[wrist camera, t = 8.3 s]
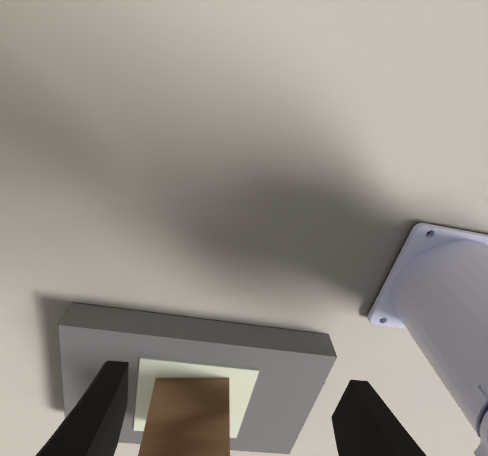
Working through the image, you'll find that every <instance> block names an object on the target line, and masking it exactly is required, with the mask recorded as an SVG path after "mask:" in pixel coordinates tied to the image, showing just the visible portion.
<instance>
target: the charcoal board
mask: <svg viewBox="0 0 488 456" xmlns="http://www.w3.org/2000/svg"><path fill="white" fill-rule="evenodd" d="M58 330H59V343H60V357H61V371H62V385H63V398H64V412H65V418H66V417H67V416H68V415H69V413H70V412H71V411H72V409H73V408H74V407H75V405H76V404H77V402H78V401H79V400H80V398H81V397H82V396H83V394H84V393H85V391H86V390H87V388H88V387H89V386H90V384H91V383H92V381H93V380H94V378H95V377H96V375H97V374H98V372H99V370H100V369H101V367H102V365H103V364H104V363H105V362H106V361H108V360H109V361H121V362H129V369H128V404H127V408H126V412H125V417H124V421H123V425H122V429H121V433H120V437H119V441H118V442H121V443H135V444H141V441H142V436H143V432H144V428H145V423H146V419H147V414H148V410H149V405H150V401H151V397H152V392H153V388H154V383H155V379H156V378H229V400H230V450H237V451H251V452H266V453H281V454H290V452H291V450H292V448H293V445H294V443H295V441H296V439H297V437H298V435H299V433H300V431H301V429H302V427H303V425H304V423H305V421H306V419H307V417H308V415H309V413H310V411H311V409H312V407H313V405H314V403H315V401H316V399H317V397H318V395H319V393H320V391H321V389H322V387H323V385H324V382H325V380H326V378H327V376H328V374H329V372H330V370H331V368H332V366H333V364H334V362H335V360H336V358H337V356H336V353H335V350H334V347H333V345H332V342H331V339H330V337H329V335H327V334H319V333H311V332H303V331H295V330H287V329H279V328H271V327H263V326H255V325H247V324H239V323H231V322H223V321H215V320H207V319H199V318H191V317H183V316H175V315H167V314H159V313H151V312H143V311H135V310H127V309H119V308H111V307H103V306H95V305H87V304H79V303H72V304H71V306H70V307H69V309H68V310H67V312H66V313H65V315H64V317H63V318H62V320H61V321H60V323H59V324H58Z"/></svg>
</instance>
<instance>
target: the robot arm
mask: <svg viewBox="0 0 488 456" xmlns="http://www.w3.org/2000/svg"><path fill="white" fill-rule="evenodd" d="M430 230H431V232H430V233H429V234H427V235H426V233H427V232H428V231H430ZM381 318H383V319H381ZM368 320H369V322H370V323H371V324H375V325H382V326H390V327H397V328H405V329H407V330H408V331H409V333H410V334H411V336H412V337H413V339H414V340H415V342H416V343H417V345H418V346H419V348H420V349H421V351H422V352H423V354H424V355H425V357H426V358H427V360H428V361H429V363H430V364H431V366H432V367H433V369H434V370H435V372H436V373H437V375H438V376H439V378H440V379H441V381H442V382H443V384H444V385H445V387H446V388H447V390H448V391H449V392H450V394H451V395H452V397H453V398H454V400H455V401H456V403H457V404H458V406H459V407H460V409H461V410H462V412H463V413H464V415H465V416H466V418H467V419H468V421H469V422H470V424H471V425H472V427H473V428H474V430H475V431H476V433H477V434H478V436H479V437H480V438H481V442H480V444H479V446H478V448H477V449H476V450H475V451H474V454H475V456H488V235H486V234H481V233H475V232H470V231H465V230H459V229H454V228H448V227H443V226H437V225H432V224H427V223H419V224H417V225H415V226H414V227H413V229H412V230H411V232H410V234H409V236H408V238H407V240H406V242H405V244H404V246H403V248H402V250H401V252H400V254H399V256H398V258H397V260H396V262H395V264H394V265H393V267H392V269H391V271H390V273H389V275H388V277H387V279H386V281H385V283H384V285H383V287H382V289H381V291H380V293H379V295H378V297H377V299H376V301H375V303H374V305H373V307H372V308H371V310H370V312H369V314H368ZM128 369H129V362H121V361H109V360H108V361H106V362H105V363H104V364H103V365H102V367H101V369H100V370H99V372H98V374H97V375H96V377H95V378H94V380H93V381H92V383H91V384H90V386H89V387H88V388H87V390H86V391H85V393H84V394H83V396H82V397H81V398H80V400H79V401H78V402H77V404H76V405H75V407H74V408H73V409H72V411H71V412H70V413H69V415H68V416H67V417H66V418H65V420H64V421H63V422H62V424H61V425H60V426H59V428H58V429H57V430H56V431H55V433H54V434H53V435H52V437H51V438H50V439H49V440H48V442H47V443H46V444H45V445H44V446H43V448H42V449H41V450H40V451H39V452H38V453H37V455H36V456H114V453H115V450H116V447H117V444H118V441H119V437H120V433H121V429H122V425H123V421H124V417H125V412H126V408H127V404H128ZM332 423H333V428H334V434H335V440H336V445H337V450H338V454H339V456H426V455H425V453H424V452H423V451H422V450H421V449H420V447H419V446H418V445H417V444H416V442H415V441H414V440H413V439H412V437H411V436H410V435H409V434H408V432H407V431H406V430H405V429H404V427H403V426H402V425H401V423H400V422H399V421H398V420H397V418H396V417H395V416H394V415H393V413H392V412H391V411H390V409H389V408H388V407H387V405H386V404H385V403H384V402H383V400H382V399H381V398H380V396H379V395H378V394H377V393H376V391H375V390H374V389H373V387H372V386H371V385H370V384H369V382H368V381H359V380H350V382H349V384H348V386H347V388H346V390H345V392H344V394H343V396H342V398H341V400H340V401H339V403H338V405H337V407H336V409H335V411H334V413H333V415H332Z"/></svg>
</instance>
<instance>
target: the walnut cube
mask: <svg viewBox="0 0 488 456" xmlns="http://www.w3.org/2000/svg"><path fill="white" fill-rule="evenodd" d="M138 456H230V400H229V378H156V379H155V383H154V388H153V392H152V397H151V401H150V405H149V410H148V414H147V419H146V423H145V428H144V432H143V436H142V441H141V445H140V450H139V454H138Z"/></svg>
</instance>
